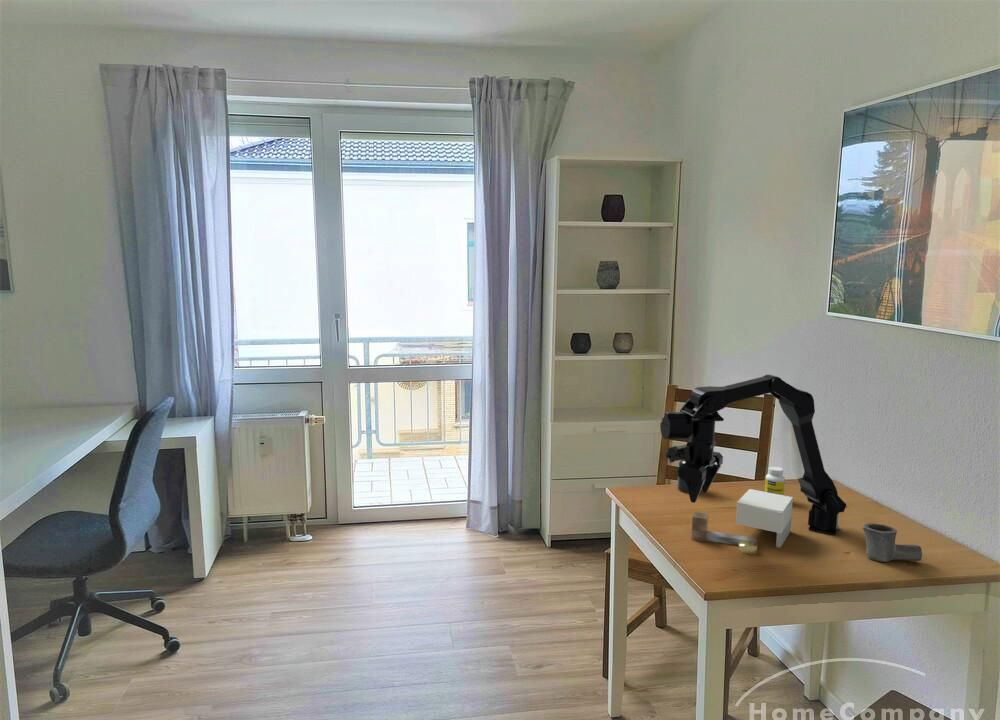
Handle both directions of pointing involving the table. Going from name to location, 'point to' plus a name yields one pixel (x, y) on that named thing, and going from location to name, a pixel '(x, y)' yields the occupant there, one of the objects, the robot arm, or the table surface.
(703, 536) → the taupe block mallet
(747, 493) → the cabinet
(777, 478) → the supplement bottle
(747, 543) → the token
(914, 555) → the pipe
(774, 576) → the table surface
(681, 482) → the supplement bottle
